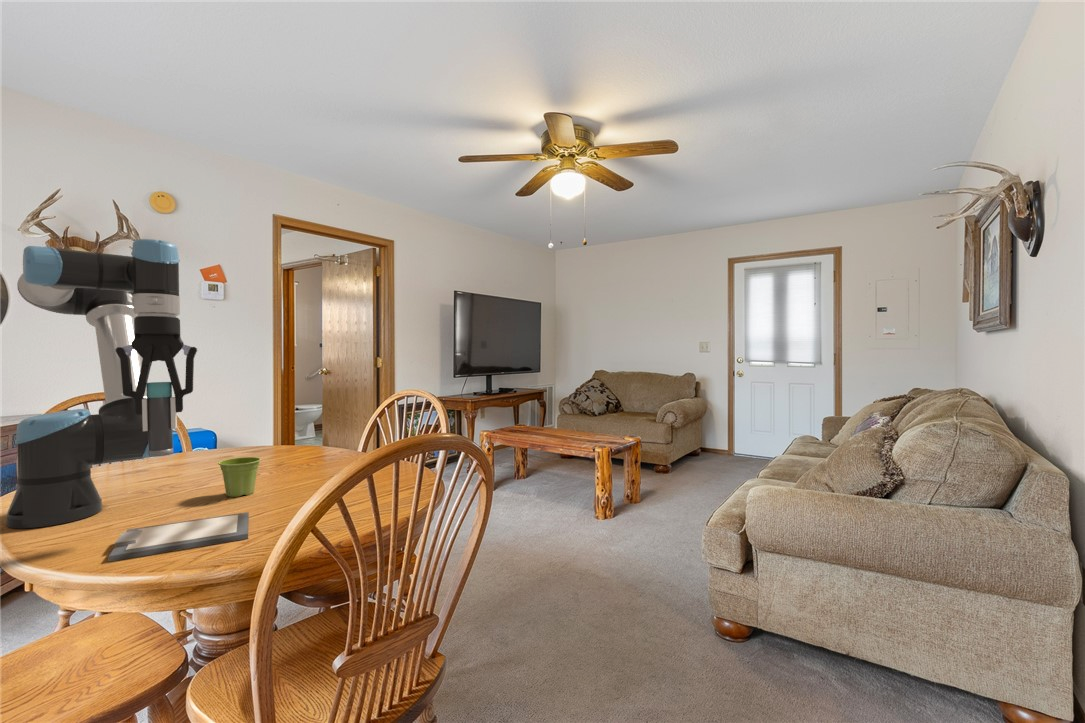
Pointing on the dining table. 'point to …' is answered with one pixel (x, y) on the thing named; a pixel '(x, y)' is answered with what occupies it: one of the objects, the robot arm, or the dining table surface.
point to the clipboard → (180, 536)
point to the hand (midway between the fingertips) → (160, 429)
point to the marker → (159, 419)
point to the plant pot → (239, 475)
